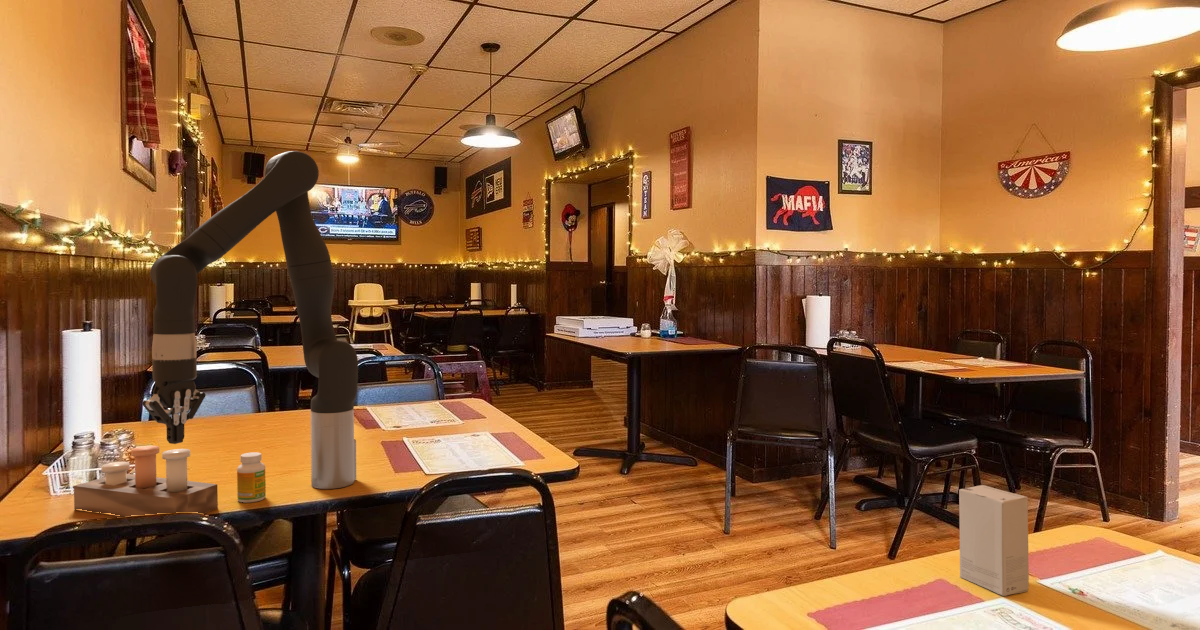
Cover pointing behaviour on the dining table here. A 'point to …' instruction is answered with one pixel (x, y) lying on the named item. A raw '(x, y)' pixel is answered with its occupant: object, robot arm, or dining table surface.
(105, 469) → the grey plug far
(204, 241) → the robot arm
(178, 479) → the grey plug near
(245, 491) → the supplement bottle
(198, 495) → the walnut socket board
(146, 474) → the terracotta plug
